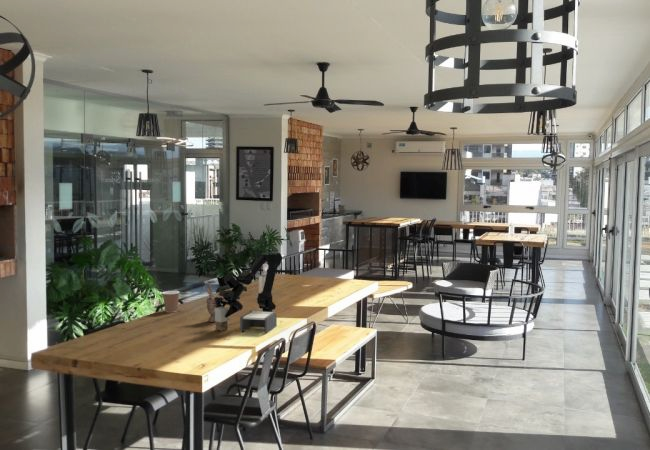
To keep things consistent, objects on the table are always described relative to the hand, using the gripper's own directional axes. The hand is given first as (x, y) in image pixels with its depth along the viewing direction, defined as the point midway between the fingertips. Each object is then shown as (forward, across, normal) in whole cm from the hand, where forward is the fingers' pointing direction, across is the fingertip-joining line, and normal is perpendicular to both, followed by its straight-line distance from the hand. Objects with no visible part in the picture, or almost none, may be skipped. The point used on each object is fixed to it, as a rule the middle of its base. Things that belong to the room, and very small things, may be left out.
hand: (219, 316), depth 337 cm
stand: (+5, 0, +6) cm, 8 cm away
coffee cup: (-2, -62, +13) cm, 63 cm away
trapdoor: (-9, +14, +13) cm, 21 cm away
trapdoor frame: (-6, +14, +17) cm, 22 cm away
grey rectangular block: (+1, 0, +3) cm, 3 cm away
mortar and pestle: (-2, -22, +14) cm, 26 cm away
